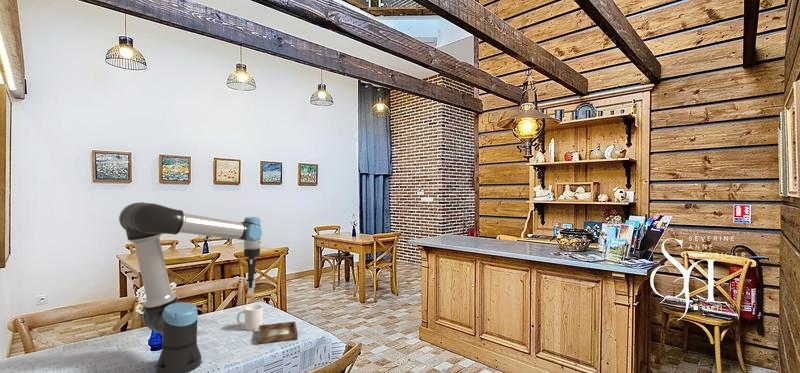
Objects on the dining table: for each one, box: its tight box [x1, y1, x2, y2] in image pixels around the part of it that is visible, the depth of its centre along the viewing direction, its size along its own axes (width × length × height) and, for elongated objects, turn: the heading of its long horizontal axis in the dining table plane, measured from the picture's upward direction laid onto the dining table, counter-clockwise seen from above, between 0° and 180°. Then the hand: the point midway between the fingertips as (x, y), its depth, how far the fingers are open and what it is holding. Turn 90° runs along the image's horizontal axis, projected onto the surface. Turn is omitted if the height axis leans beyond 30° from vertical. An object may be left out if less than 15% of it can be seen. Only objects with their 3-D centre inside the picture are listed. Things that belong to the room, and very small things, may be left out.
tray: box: [257, 321, 299, 345], centre depth 175 cm, size 17×16×3 cm
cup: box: [236, 304, 264, 332], centre depth 184 cm, size 8×12×10 cm
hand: (251, 290), depth 184 cm, fingers open, 13 cm apart
